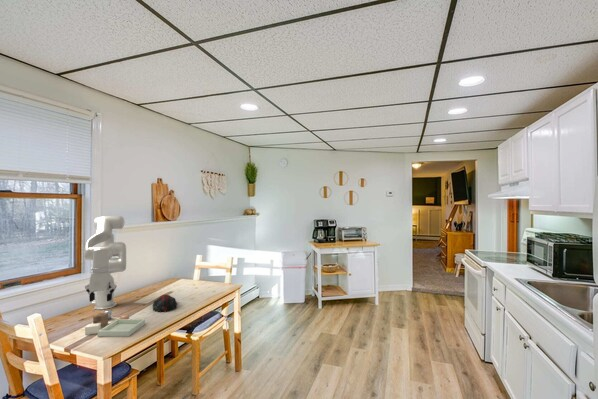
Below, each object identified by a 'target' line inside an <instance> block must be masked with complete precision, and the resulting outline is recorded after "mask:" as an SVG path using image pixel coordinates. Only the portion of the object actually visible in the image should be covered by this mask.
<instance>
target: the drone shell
mask: <svg viewBox="0 0 598 399" xmlns="http://www.w3.org/2000/svg"><path fill="white" fill-rule="evenodd" d="M177 303H178V302H177V300H176V298H175V297H173V296H172V295H169V294H162V295H160V296H159V297H158V298H156V299H154V301H153V303H152V311H153V312H154V313H168V312H172V311H174V310H176V309H177Z"/></svg>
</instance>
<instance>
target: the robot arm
mask: <svg viewBox="0 0 598 399" xmlns="http://www.w3.org/2000/svg"><path fill="white" fill-rule="evenodd" d="M125 224H126V222H125V218H124V217H123V216H122V215H109V216H108V215H107V216H106V215H105V216H98V217H96V218H94V220H93V226H94V228H95V230H96V231H95V234H93V235H92V236H91V237H89V239H88V240H87V241H86V243H85V246H84V252H83V257H84V259H85V260H87V261H92V267H91V269H90V271H92V272H91V274H90V277H89V284H87V285H84V288H85V292H87V293H88V297H89V302H90V303H91V304H92V305H93V309H94V310H97V311H98V310H109V309H111V308H114V307H115V306H116V307H117V305H118V304H117V302H116V301H115V291H116V289H117V284H115V278H114V276H112V274H113V273H121V272H124V271H126V269H127V245H126V243H125V242H122V241H117V242H116V241H115V242H114V240H115V239H114V238H115V237H114V234H113V230H122V229H124V227H125ZM96 245H98V246H96ZM112 257H114V258H112ZM95 292H96V293H95ZM95 294H96V295H95ZM95 298H96V299H95Z"/></svg>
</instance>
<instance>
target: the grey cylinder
mask: <svg viewBox="0 0 598 399" xmlns="http://www.w3.org/2000/svg"><path fill="white" fill-rule="evenodd" d="M112 312H113V311H112V309H104V310H103V313H108V321H111V320H112V318H113V316H112V315H113V314H112Z"/></svg>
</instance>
